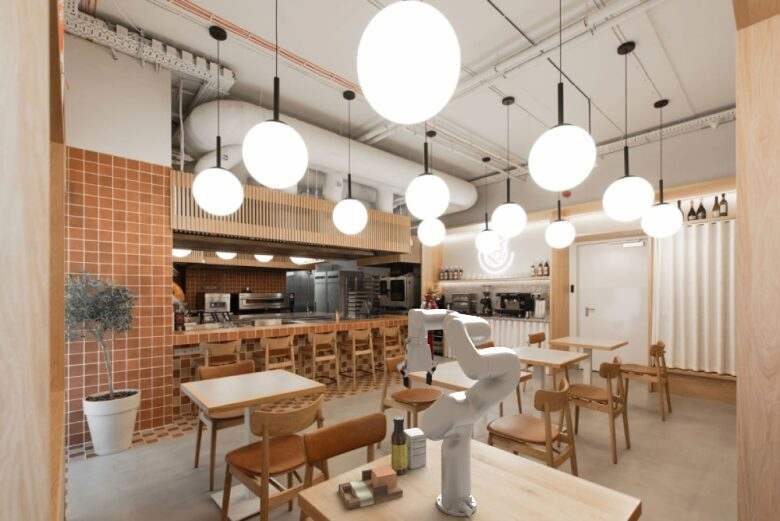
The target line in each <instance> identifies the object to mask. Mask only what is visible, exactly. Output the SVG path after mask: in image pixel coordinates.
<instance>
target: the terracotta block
mask: <svg viewBox="0 0 780 521" xmlns="http://www.w3.org/2000/svg"><path fill="white" fill-rule="evenodd" d="M370 469H371V482H372V484H373V485H374V486H376V485H381V484H385V483H387V484H388V489H389V488H393V487H396V483H397V474H396V472H395V471H394V470H393V469H392V467H391V464H390V465H384V466H379V467H376V468H375V467H373V468H370Z"/></svg>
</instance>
